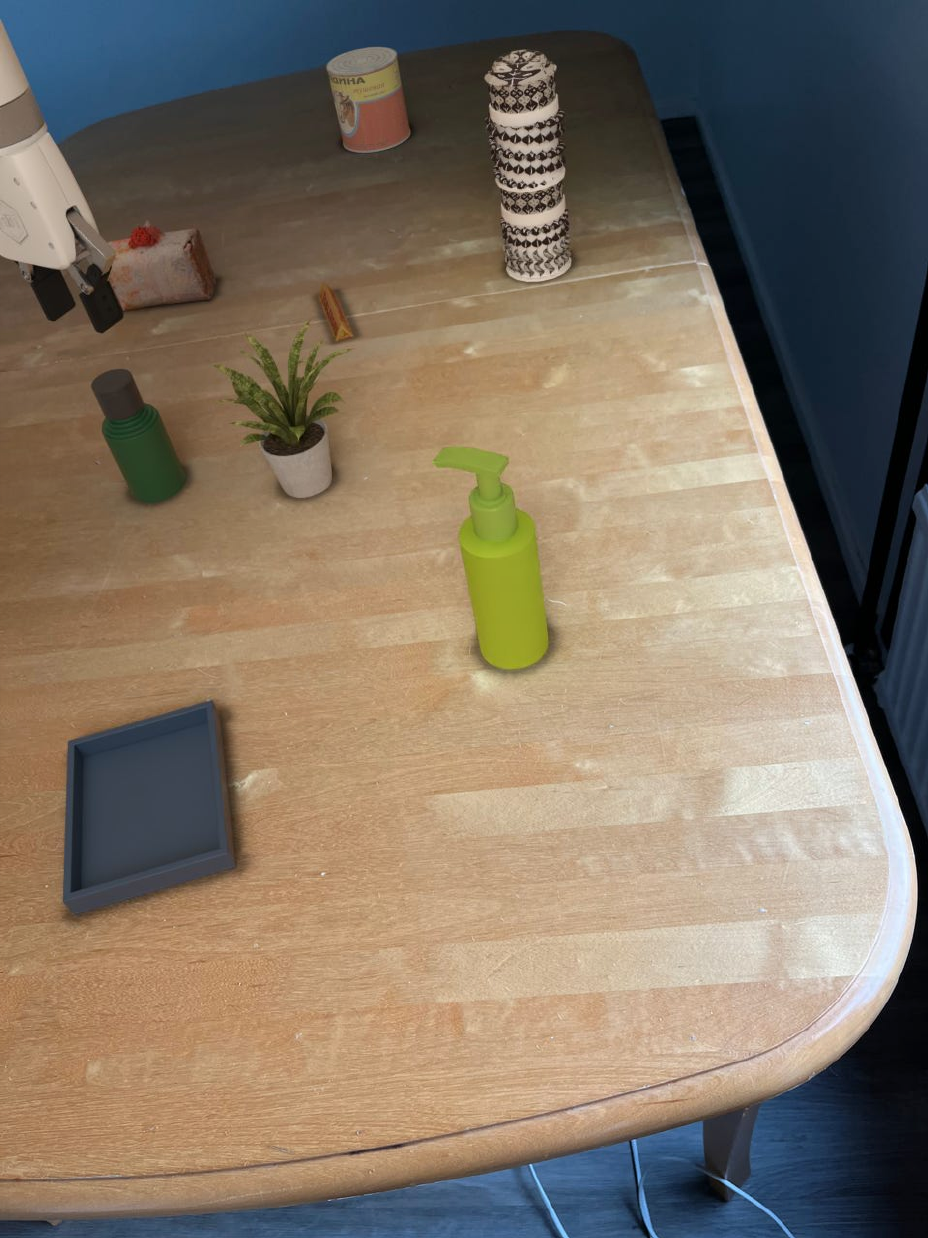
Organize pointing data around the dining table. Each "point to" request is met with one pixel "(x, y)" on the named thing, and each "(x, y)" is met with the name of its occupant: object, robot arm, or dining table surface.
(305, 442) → the house plant
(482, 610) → the soap dispenser
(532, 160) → the decorative candle
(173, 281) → the food item
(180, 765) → the tray
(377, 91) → the canned food
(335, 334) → the chocolate bar
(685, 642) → the dining table surface
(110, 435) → the bottle
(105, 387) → the cap
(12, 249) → the robot arm
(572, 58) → the dining table surface
